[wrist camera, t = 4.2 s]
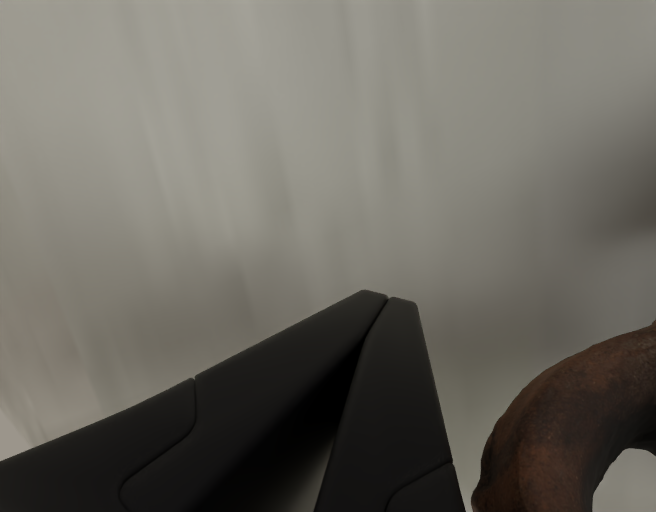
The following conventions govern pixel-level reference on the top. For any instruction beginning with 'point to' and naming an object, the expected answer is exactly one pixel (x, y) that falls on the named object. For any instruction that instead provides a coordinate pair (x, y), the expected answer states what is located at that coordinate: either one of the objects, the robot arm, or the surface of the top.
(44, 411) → the top surface
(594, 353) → the pottery mug
